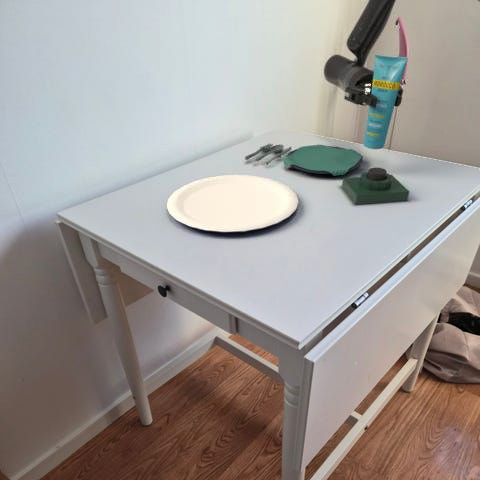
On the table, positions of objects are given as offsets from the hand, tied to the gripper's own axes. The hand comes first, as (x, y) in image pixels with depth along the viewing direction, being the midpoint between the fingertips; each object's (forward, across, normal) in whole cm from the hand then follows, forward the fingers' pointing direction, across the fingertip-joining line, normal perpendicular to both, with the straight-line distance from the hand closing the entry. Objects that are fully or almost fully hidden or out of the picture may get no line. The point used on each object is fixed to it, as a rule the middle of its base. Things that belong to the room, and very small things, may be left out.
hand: (386, 102), depth 95 cm
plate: (+12, -37, +17) cm, 42 cm away
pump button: (+11, -4, +13) cm, 17 cm away
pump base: (+11, -4, +17) cm, 20 cm away
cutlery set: (-12, -14, +17) cm, 25 cm away
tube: (-2, 0, +11) cm, 11 cm away
